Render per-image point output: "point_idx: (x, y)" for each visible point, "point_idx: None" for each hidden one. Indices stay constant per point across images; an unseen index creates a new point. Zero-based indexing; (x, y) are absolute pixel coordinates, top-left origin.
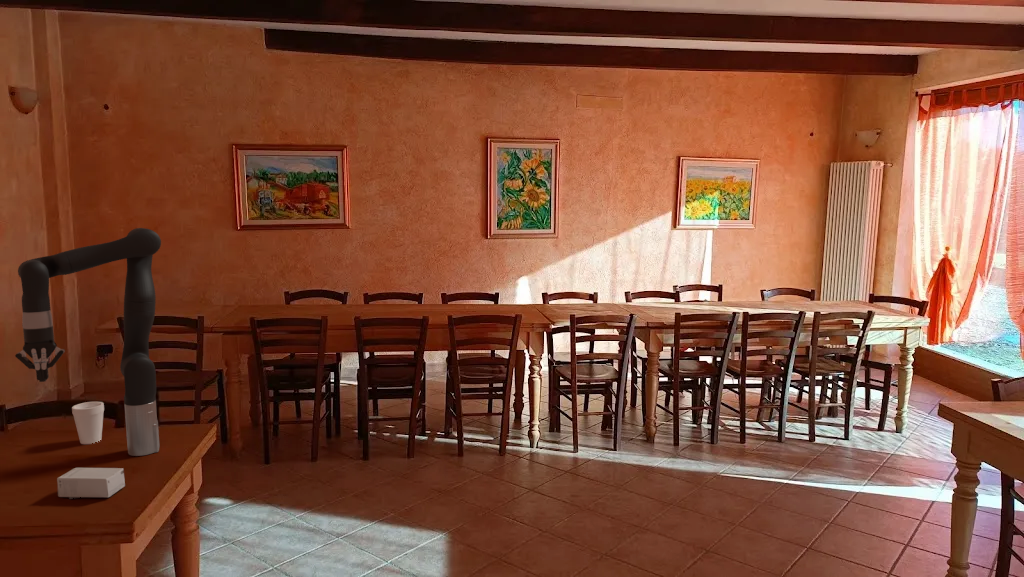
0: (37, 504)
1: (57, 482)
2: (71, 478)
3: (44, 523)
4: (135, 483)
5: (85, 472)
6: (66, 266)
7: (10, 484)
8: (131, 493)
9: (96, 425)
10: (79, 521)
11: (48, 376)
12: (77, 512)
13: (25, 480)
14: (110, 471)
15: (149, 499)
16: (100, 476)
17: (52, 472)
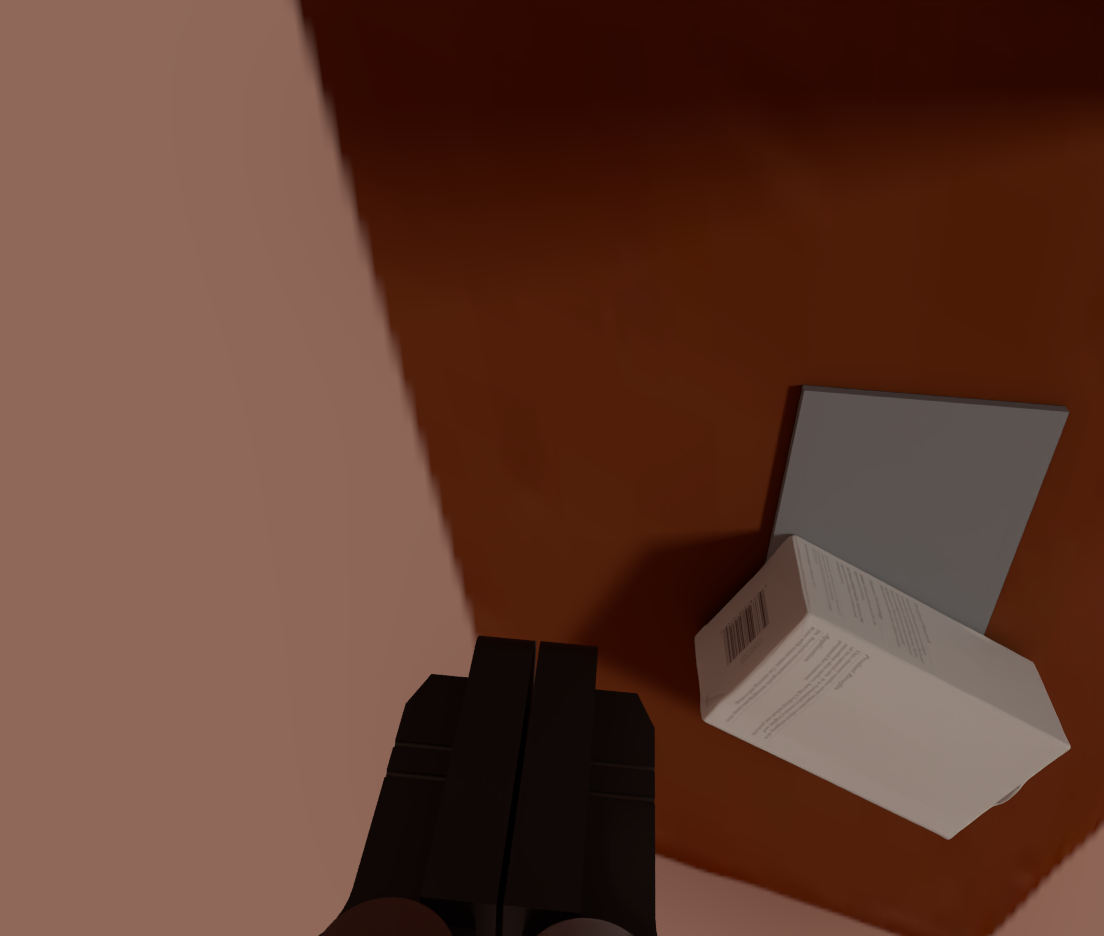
0: (601, 649)
1: (701, 701)
2: (777, 756)
3: (655, 832)
4: (1097, 614)
5: (857, 727)
6: None
7: (384, 279)
8: None
9: None
10: (786, 871)
11: (652, 754)
12: (780, 800)
13: (464, 245)
14: (991, 765)
15: (1095, 816)
16: (927, 802)
17: (624, 155)
